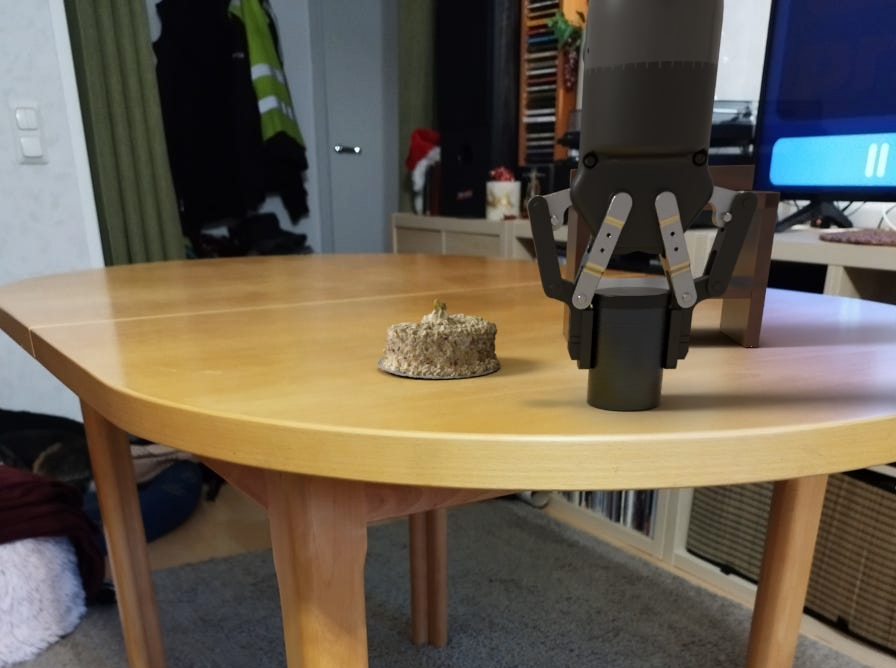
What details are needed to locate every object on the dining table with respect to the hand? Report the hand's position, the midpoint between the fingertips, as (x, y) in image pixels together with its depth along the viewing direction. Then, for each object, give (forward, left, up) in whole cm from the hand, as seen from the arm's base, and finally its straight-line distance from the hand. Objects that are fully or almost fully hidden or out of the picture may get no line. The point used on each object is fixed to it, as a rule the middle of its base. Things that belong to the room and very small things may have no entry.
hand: (626, 366), depth 60 cm
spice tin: (0, 0, -2) cm, 2 cm away
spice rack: (-6, -26, -2) cm, 27 cm away
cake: (+13, -13, -3) cm, 19 cm away
